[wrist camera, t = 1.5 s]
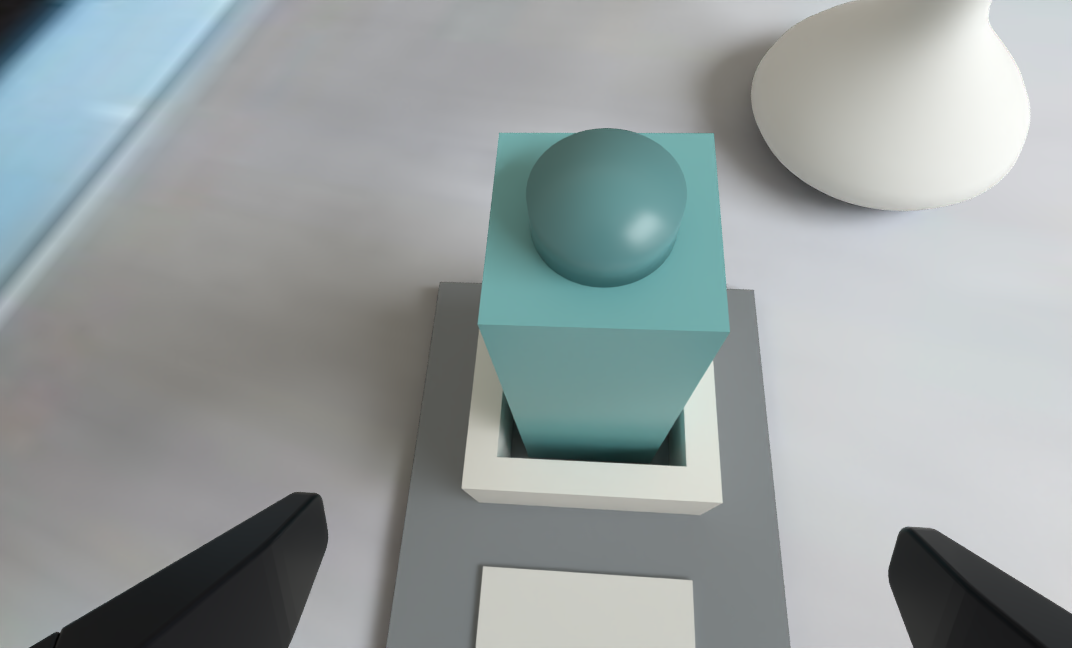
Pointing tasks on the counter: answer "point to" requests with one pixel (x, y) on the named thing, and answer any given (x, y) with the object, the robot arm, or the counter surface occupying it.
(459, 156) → the counter surface
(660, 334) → the plug
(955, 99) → the flower in vase
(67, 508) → the counter surface
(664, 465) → the grey board with socket
